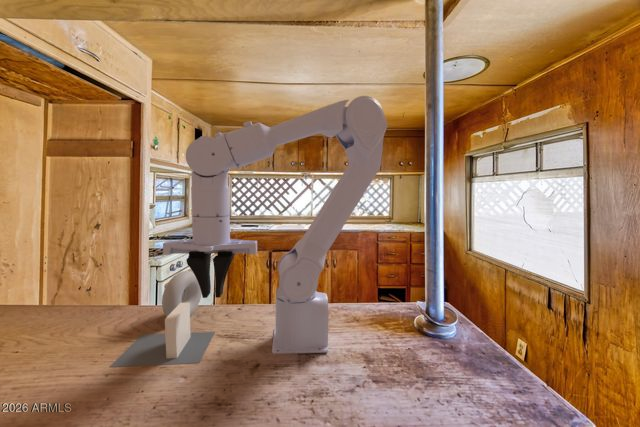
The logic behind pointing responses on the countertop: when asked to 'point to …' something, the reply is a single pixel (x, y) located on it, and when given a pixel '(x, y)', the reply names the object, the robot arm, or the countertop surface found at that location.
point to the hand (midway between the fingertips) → (212, 295)
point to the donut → (181, 292)
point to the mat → (163, 351)
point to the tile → (177, 330)
